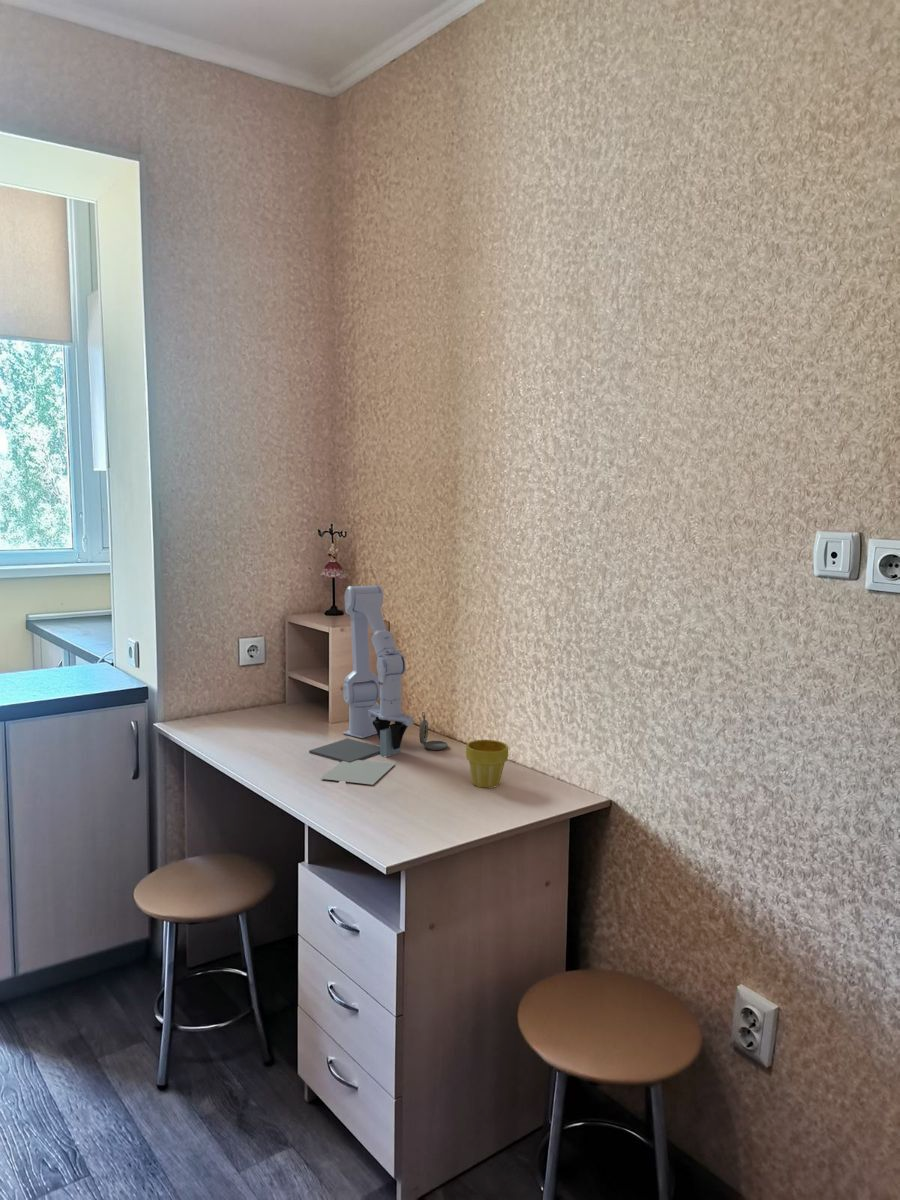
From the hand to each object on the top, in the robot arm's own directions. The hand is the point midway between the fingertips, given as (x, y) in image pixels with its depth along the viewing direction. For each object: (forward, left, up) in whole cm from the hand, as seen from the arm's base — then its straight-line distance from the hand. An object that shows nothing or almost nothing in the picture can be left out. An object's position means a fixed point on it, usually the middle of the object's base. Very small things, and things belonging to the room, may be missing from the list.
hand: (390, 746), depth 236 cm
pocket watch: (-12, +5, -2) cm, 13 cm away
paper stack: (+19, +10, -2) cm, 22 cm away
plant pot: (+3, +34, -2) cm, 34 cm away
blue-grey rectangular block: (0, 0, -2) cm, 2 cm away
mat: (+6, -10, -2) cm, 12 cm away
